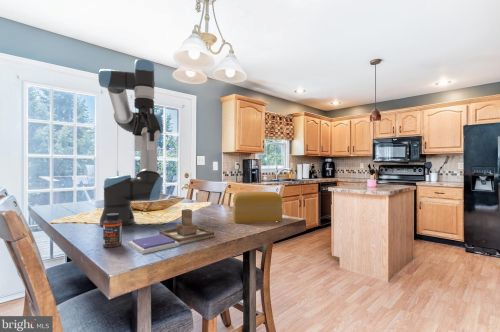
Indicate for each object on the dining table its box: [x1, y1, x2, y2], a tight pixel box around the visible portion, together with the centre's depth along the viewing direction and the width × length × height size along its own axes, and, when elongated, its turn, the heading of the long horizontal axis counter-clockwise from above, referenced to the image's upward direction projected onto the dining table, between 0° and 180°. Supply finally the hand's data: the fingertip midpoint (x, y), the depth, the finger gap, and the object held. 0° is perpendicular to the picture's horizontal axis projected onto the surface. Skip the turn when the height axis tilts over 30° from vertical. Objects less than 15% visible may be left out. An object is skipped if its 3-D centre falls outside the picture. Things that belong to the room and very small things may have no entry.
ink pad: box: [127, 234, 180, 255], centre depth 94 cm, size 13×13×2 cm
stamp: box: [175, 208, 198, 237], centre depth 106 cm, size 6×6×10 cm
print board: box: [158, 225, 215, 245], centre depth 106 cm, size 16×16×2 cm
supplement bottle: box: [102, 213, 123, 249], centre depth 93 cm, size 6×6×11 cm
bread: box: [232, 191, 283, 224], centre depth 137 cm, size 24×13×15 cm, turn 98°
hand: (144, 150), depth 108 cm, fingers open, 13 cm apart
